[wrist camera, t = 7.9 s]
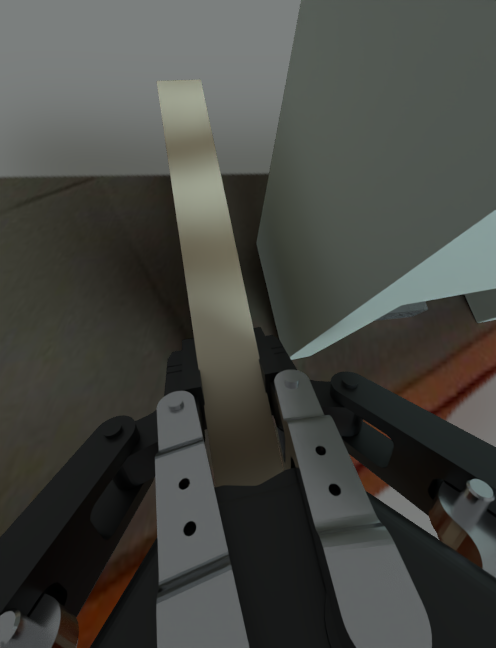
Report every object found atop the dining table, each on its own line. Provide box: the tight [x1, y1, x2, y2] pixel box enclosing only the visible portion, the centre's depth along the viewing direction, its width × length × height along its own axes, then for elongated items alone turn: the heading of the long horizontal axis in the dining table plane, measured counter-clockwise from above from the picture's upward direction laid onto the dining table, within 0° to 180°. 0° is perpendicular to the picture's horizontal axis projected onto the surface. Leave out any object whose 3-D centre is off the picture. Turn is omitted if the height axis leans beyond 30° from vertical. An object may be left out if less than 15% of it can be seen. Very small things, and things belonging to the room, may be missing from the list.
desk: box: [256, 0, 496, 360], centre depth 17 cm, size 13×22×21 cm, turn 101°
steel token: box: [374, 301, 428, 321], centre depth 25 cm, size 5×5×2 cm
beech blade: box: [157, 80, 283, 487], centre depth 15 cm, size 22×2×8 cm, turn 11°
